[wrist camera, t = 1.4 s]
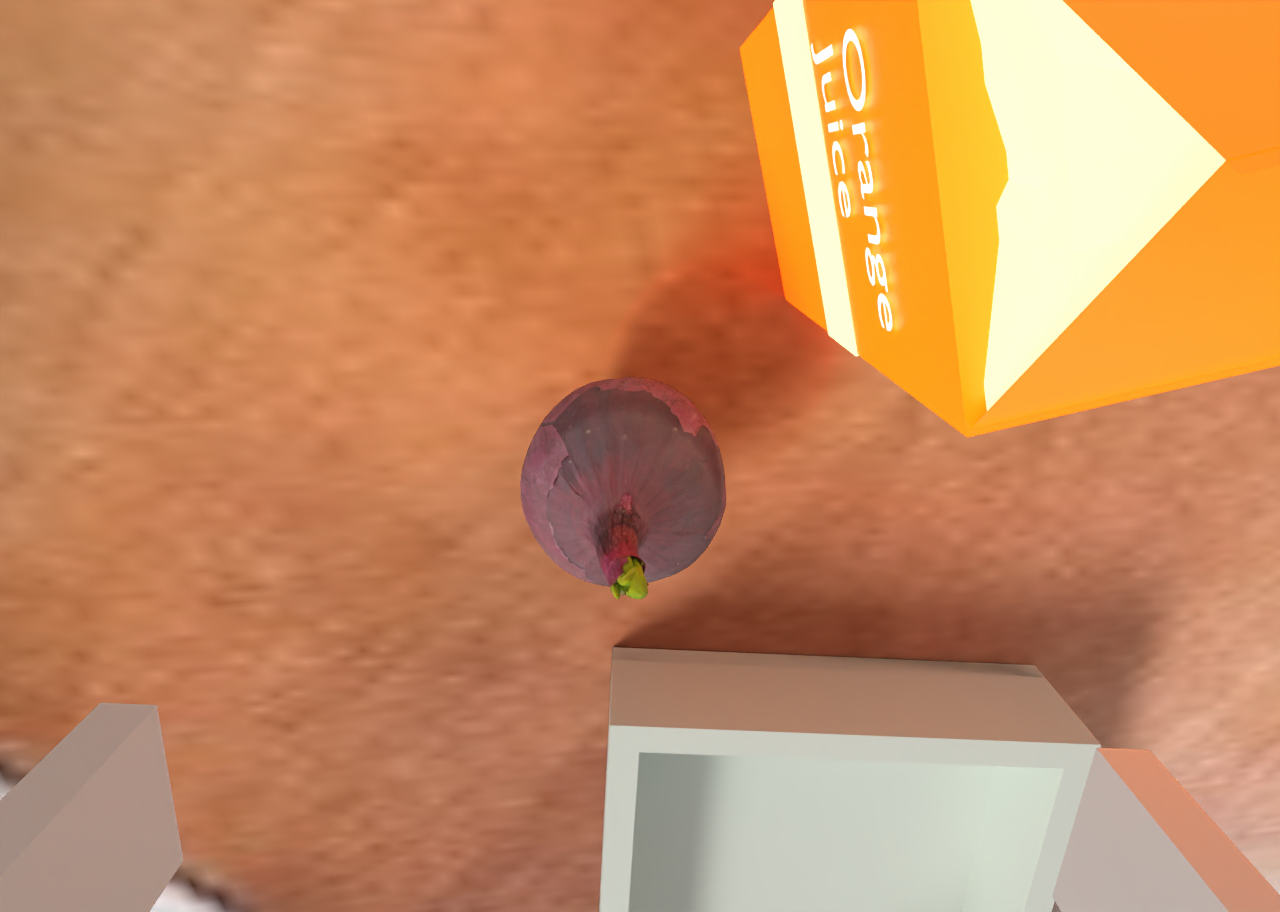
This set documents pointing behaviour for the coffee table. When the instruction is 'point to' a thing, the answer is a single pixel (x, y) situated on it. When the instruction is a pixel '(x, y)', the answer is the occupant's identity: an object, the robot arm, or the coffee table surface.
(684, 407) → the vegetable
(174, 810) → the robot arm
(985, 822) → the grey tray
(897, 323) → the orange juice
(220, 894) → the coffee table surface
